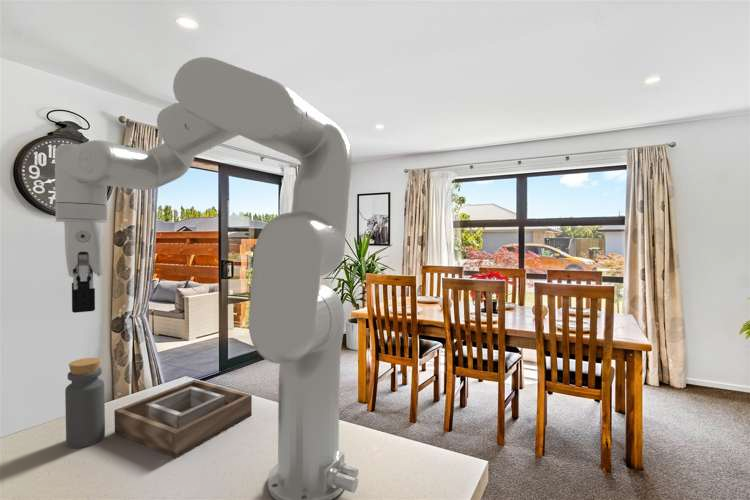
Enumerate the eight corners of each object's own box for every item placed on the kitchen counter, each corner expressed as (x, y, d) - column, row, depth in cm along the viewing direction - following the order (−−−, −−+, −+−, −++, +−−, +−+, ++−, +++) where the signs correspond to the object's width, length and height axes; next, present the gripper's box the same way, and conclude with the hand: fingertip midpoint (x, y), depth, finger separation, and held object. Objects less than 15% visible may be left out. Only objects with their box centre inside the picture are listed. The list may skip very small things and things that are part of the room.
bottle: (112, 433, 75) (111, 357, 75) (87, 449, 69) (85, 367, 69) (85, 431, 76) (83, 355, 75) (57, 447, 70) (56, 366, 69)
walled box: (251, 415, 83) (251, 392, 83) (175, 458, 67) (175, 430, 67) (194, 398, 91) (194, 377, 91) (114, 432, 75) (114, 407, 75)
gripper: (110, 214, 66) (111, 313, 67) (103, 216, 80) (104, 298, 81) (53, 212, 62) (55, 318, 62) (56, 214, 75) (58, 301, 76)
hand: (83, 306), depth 71 cm, fingers open, 9 cm apart
